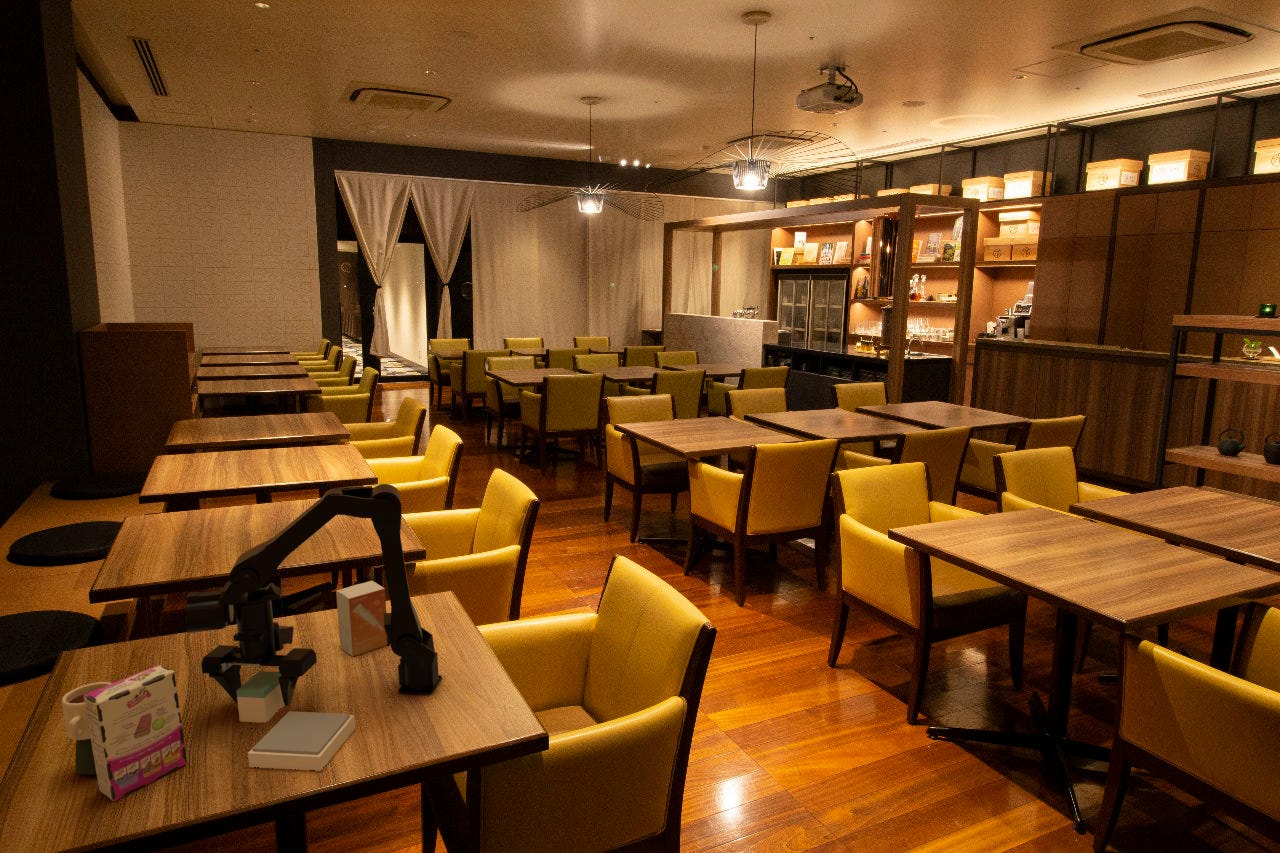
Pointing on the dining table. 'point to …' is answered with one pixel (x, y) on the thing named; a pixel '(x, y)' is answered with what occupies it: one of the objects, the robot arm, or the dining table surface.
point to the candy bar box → (135, 731)
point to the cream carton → (260, 697)
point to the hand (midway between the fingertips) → (263, 704)
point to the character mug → (80, 726)
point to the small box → (361, 617)
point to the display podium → (302, 741)
